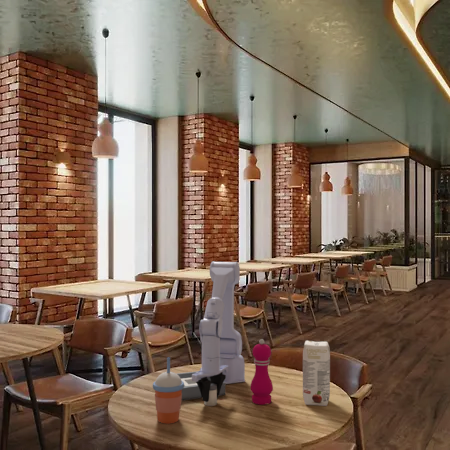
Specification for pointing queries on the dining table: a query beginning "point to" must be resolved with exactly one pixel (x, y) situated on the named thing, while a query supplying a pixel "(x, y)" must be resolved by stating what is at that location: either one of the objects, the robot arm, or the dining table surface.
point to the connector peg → (212, 395)
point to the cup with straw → (168, 396)
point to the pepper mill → (261, 375)
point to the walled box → (194, 388)
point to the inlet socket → (188, 382)
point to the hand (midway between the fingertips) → (210, 399)
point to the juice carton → (316, 373)
